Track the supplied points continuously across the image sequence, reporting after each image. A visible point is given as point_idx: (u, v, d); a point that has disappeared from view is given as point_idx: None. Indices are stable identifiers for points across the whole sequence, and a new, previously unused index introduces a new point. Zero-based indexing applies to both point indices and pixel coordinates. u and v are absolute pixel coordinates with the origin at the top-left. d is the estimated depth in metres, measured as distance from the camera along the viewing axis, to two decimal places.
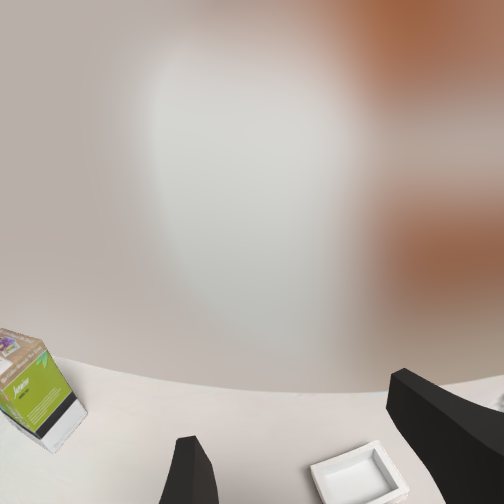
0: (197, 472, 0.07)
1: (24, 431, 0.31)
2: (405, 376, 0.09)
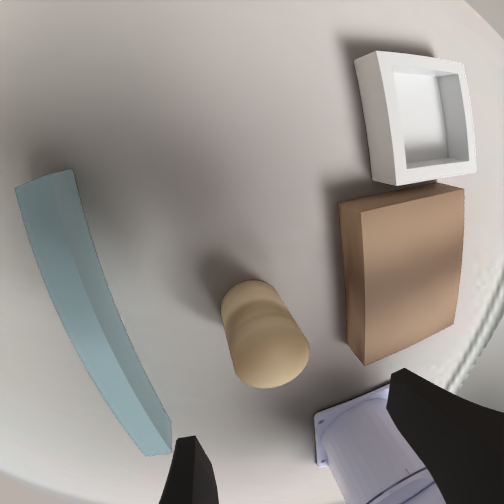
0: (197, 472, 0.07)
1: None
2: (405, 376, 0.09)
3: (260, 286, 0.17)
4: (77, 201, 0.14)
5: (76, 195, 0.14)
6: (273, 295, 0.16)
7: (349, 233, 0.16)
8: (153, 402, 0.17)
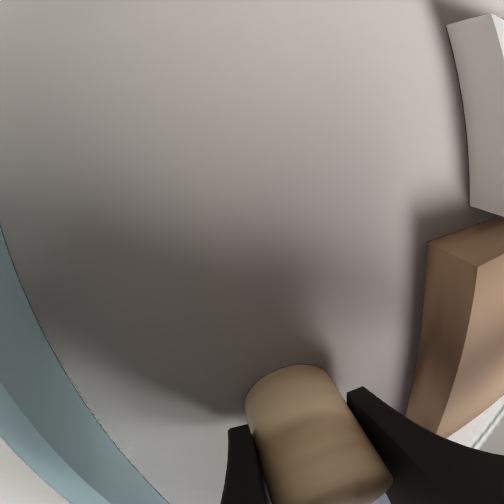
0: (256, 460, 0.07)
1: None
2: (361, 396, 0.09)
3: (310, 379, 0.10)
4: None
5: None
6: (333, 395, 0.09)
7: (444, 290, 0.09)
8: None
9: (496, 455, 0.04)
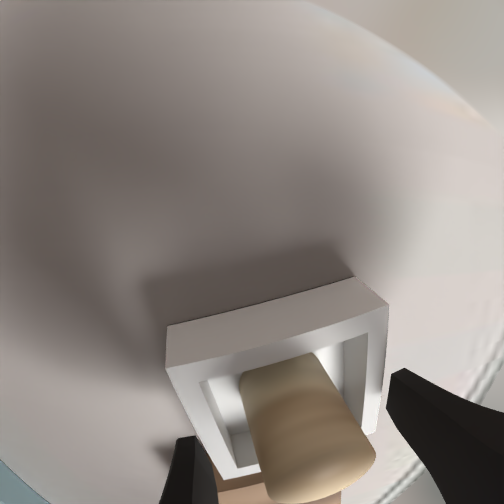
0: (197, 472, 0.07)
1: None
2: (405, 376, 0.09)
3: (302, 360, 0.11)
4: None
5: None
6: (322, 375, 0.10)
7: None
8: None
9: None
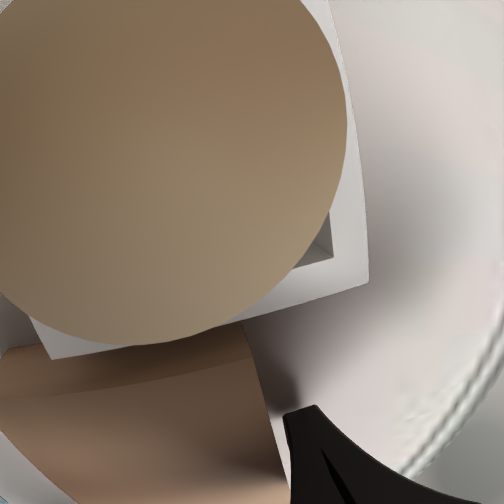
0: None
1: None
2: (310, 415, 0.09)
3: None
4: None
5: None
6: None
7: None
8: None
9: (442, 495, 0.04)
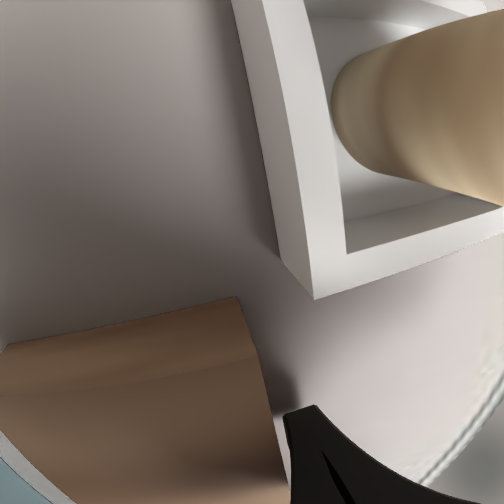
0: None
1: None
2: (309, 415, 0.09)
3: None
4: None
5: None
6: None
7: None
8: (29, 503, 0.09)
9: (442, 495, 0.04)
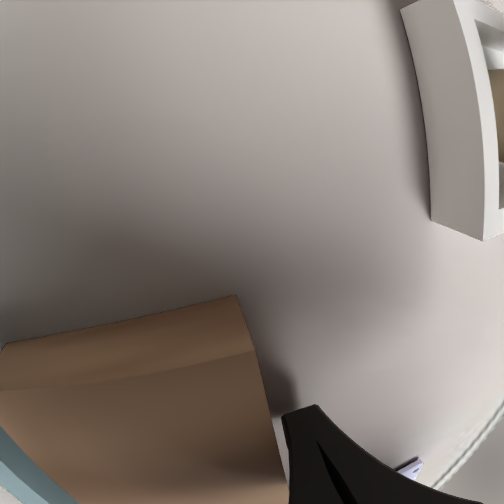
0: None
1: None
2: (310, 415, 0.09)
3: None
4: None
5: None
6: None
7: None
8: None
9: (443, 495, 0.04)
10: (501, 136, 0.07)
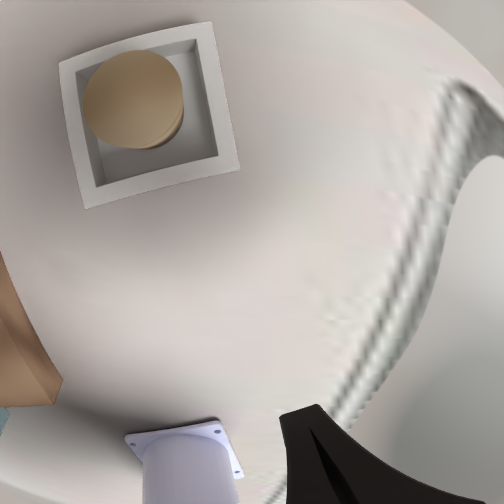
0: None
1: None
2: (312, 414, 0.09)
3: None
4: None
5: None
6: None
7: None
8: None
9: (445, 494, 0.04)
10: None
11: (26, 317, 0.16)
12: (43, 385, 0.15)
